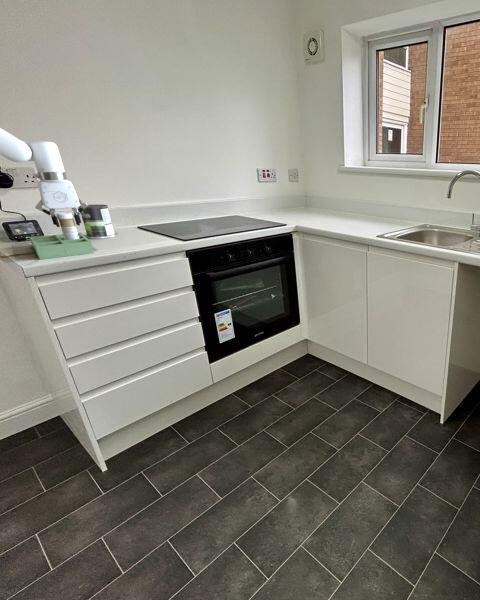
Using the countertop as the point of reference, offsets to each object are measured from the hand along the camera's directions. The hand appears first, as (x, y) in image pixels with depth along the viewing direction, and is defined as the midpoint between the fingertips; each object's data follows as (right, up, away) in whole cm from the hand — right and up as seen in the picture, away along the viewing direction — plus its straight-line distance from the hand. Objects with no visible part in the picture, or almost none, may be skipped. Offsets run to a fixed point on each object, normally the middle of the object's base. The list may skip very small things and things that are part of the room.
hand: (68, 225), depth 137 cm
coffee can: (-9, 0, +26) cm, 28 cm away
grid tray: (-3, -10, +1) cm, 10 cm away
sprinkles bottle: (0, -8, +3) cm, 9 cm away
